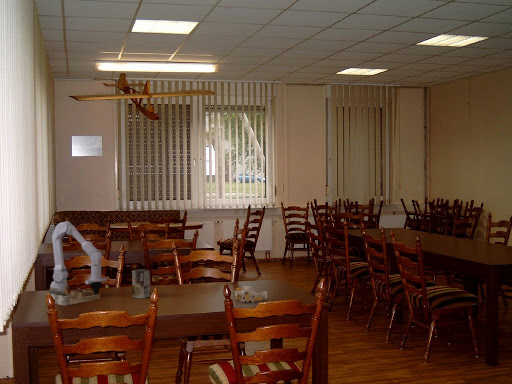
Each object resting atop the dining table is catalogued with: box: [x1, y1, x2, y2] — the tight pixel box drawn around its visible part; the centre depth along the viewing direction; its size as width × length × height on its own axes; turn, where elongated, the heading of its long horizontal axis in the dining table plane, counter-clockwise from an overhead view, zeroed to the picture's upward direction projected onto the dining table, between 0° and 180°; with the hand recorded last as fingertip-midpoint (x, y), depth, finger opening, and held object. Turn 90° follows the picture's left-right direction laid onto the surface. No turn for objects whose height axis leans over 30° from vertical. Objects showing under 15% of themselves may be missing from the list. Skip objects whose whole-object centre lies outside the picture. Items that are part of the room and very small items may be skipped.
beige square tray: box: [70, 289, 94, 299], centre depth 393 cm, size 9×9×4 cm
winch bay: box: [46, 285, 101, 307], centre depth 388 cm, size 16×25×11 cm, turn 146°
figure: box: [233, 285, 268, 303], centre depth 394 cm, size 17×18×9 cm
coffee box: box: [131, 268, 151, 299], centre depth 403 cm, size 9×6×16 cm
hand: (95, 294), depth 402 cm, fingers closed
